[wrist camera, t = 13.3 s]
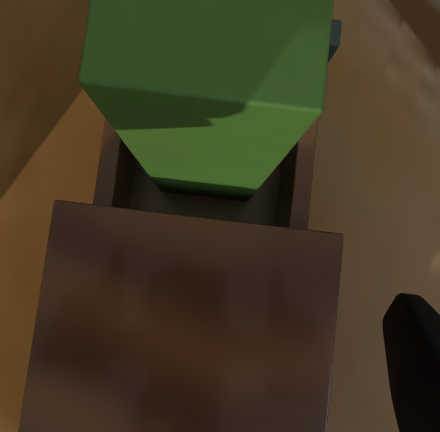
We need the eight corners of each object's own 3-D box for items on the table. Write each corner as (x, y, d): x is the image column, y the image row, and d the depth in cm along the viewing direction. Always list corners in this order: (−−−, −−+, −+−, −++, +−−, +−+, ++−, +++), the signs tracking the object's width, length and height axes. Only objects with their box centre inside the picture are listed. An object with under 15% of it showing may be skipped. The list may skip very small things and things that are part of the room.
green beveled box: (248, 201, 20) (324, 113, 7) (160, 191, 20) (75, 82, 7) (257, 116, 21) (345, -114, 8) (171, 105, 20) (110, -147, 7)
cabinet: (98, 214, 22) (53, 199, 15) (304, 238, 22) (344, 233, 16) (61, 471, 20) (-4, 570, 14) (279, 493, 21) (312, 600, 14)
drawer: (138, -20, 22) (120, -93, 17) (319, 4, 22) (349, -61, 18) (97, 272, 21) (64, 278, 16) (291, 294, 21) (316, 307, 16)
